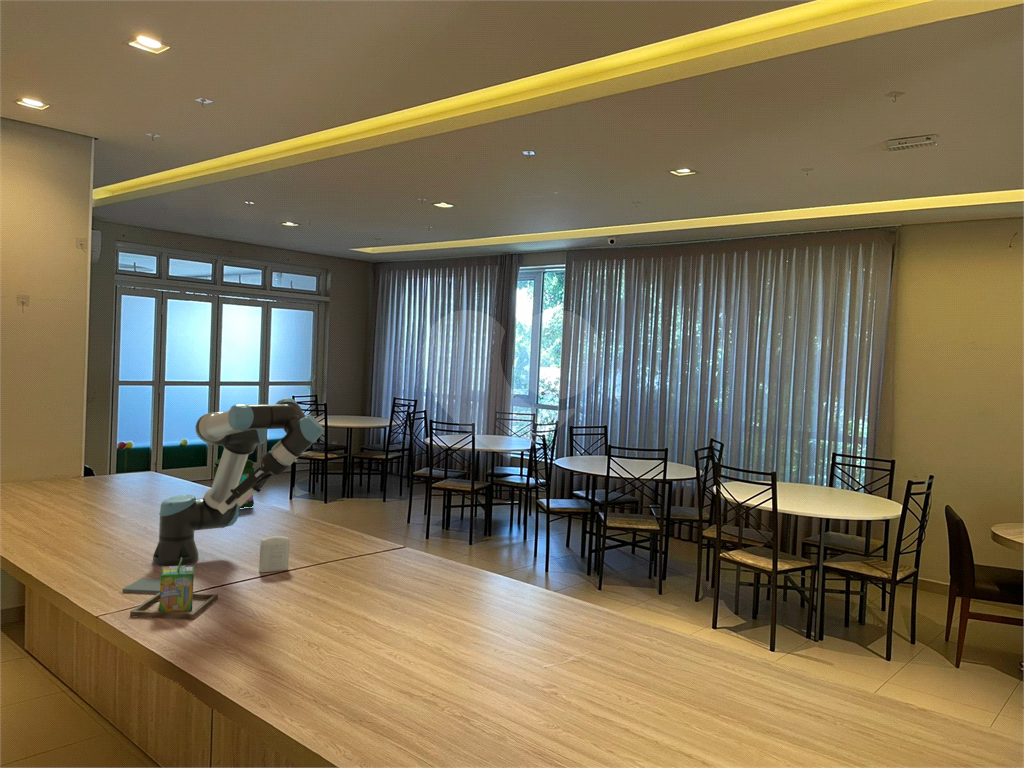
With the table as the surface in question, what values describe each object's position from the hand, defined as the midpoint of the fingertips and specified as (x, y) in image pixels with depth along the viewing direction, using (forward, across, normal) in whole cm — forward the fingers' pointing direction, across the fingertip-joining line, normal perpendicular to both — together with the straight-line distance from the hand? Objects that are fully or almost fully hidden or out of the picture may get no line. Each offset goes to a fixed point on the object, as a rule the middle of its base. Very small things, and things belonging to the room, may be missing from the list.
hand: (228, 507), depth 213 cm
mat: (+43, +17, +1) cm, 46 cm away
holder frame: (+32, 0, -11) cm, 34 cm away
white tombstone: (+20, +41, -22) cm, 50 cm away
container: (+55, +141, +20) cm, 152 cm away
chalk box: (+32, 0, -11) cm, 34 cm away
